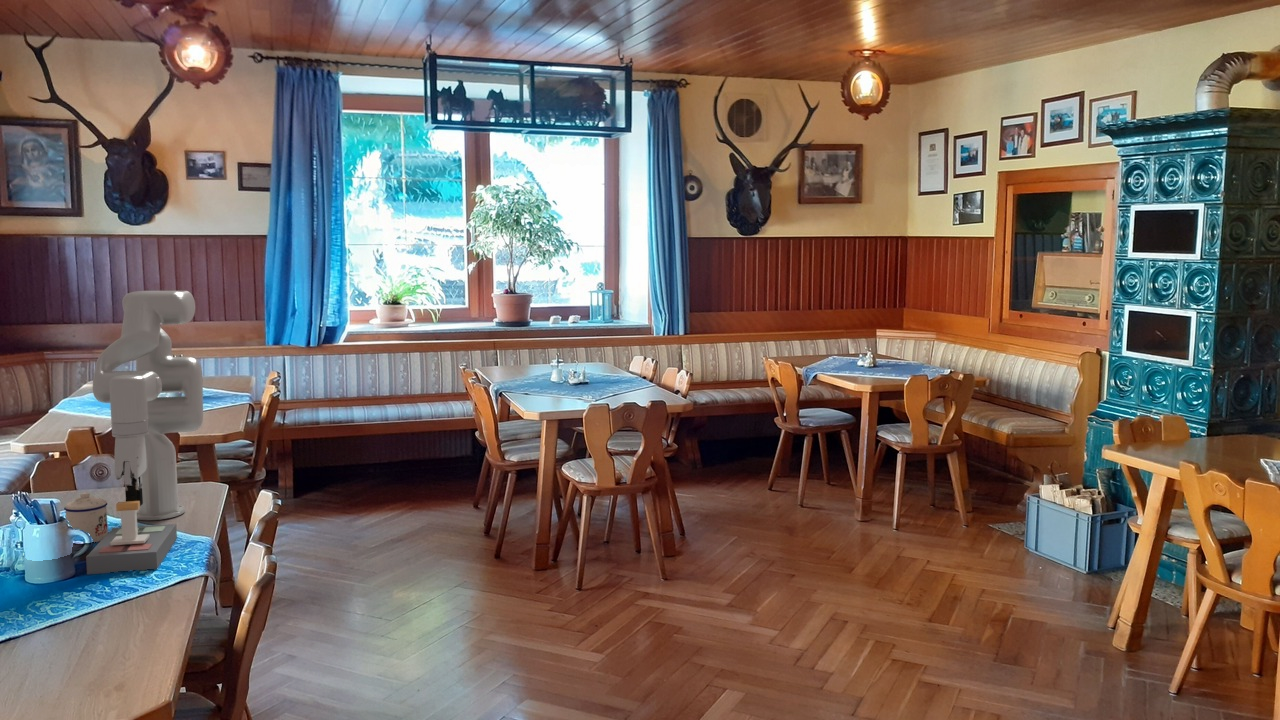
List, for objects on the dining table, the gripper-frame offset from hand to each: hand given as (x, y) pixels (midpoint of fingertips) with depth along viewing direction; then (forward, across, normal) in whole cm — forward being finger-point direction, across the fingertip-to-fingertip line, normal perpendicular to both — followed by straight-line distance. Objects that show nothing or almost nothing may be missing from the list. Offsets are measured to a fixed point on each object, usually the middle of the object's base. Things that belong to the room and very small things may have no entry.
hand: (134, 505), depth 221 cm
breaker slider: (+7, +6, 0) cm, 9 cm away
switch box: (+11, +2, 0) cm, 12 cm away
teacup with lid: (+11, -16, -14) cm, 24 cm away
